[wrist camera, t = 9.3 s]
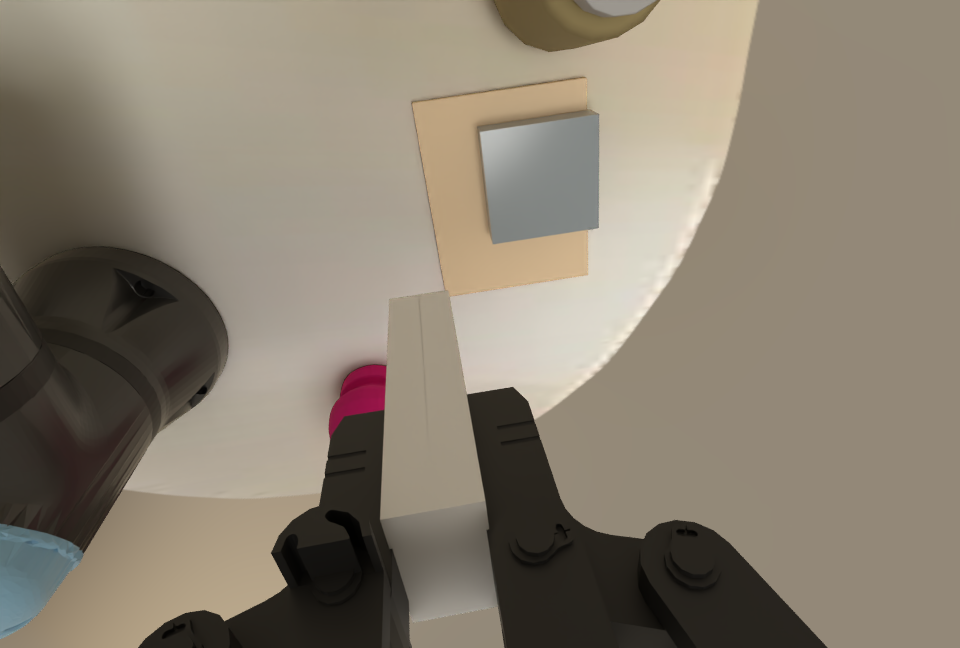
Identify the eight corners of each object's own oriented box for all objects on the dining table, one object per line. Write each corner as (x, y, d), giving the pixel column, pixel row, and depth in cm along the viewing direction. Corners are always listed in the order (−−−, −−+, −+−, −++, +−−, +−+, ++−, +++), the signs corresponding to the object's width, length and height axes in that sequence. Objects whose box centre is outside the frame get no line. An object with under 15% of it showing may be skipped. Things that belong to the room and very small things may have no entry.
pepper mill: (428, 404, 48) (433, 614, 31) (360, 430, 49) (330, 648, 32) (393, 348, 44) (377, 551, 27) (321, 377, 45) (262, 592, 28)
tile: (492, 244, 37) (598, 228, 37) (479, 131, 33) (599, 114, 33) (489, 233, 39) (589, 217, 39) (476, 125, 35) (589, 109, 35)
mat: (446, 293, 42) (446, 297, 42) (412, 102, 34) (411, 103, 34) (585, 271, 42) (587, 274, 42) (584, 77, 34) (586, 77, 34)
